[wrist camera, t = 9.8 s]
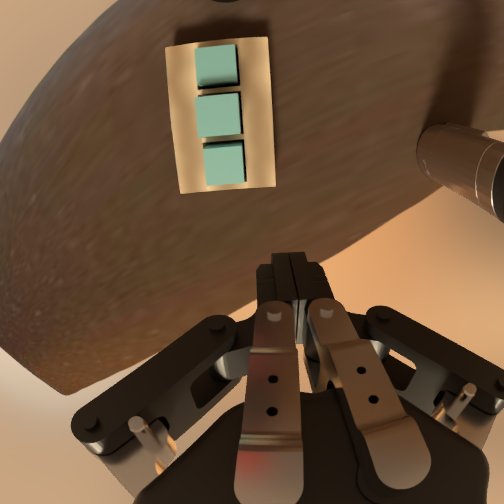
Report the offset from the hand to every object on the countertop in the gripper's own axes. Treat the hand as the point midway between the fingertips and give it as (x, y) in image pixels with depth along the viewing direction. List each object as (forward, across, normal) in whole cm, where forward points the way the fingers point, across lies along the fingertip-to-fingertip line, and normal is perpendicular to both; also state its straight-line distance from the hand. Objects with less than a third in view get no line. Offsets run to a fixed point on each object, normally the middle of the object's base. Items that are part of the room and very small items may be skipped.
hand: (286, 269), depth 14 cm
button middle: (+25, +5, -6) cm, 27 cm away
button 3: (+28, +5, 0) cm, 28 cm away
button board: (+28, +5, -6) cm, 29 cm away
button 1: (+28, +5, -12) cm, 31 cm away
